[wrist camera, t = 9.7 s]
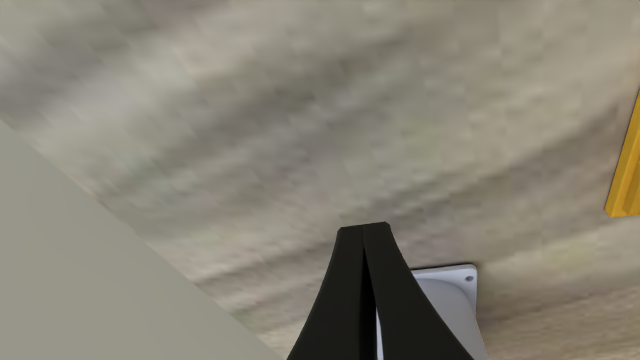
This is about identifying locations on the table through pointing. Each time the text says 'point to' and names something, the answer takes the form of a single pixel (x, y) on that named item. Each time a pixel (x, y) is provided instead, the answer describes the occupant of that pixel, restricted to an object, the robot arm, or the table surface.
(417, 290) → the robot arm
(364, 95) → the table surface
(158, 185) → the table surface
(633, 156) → the tray
